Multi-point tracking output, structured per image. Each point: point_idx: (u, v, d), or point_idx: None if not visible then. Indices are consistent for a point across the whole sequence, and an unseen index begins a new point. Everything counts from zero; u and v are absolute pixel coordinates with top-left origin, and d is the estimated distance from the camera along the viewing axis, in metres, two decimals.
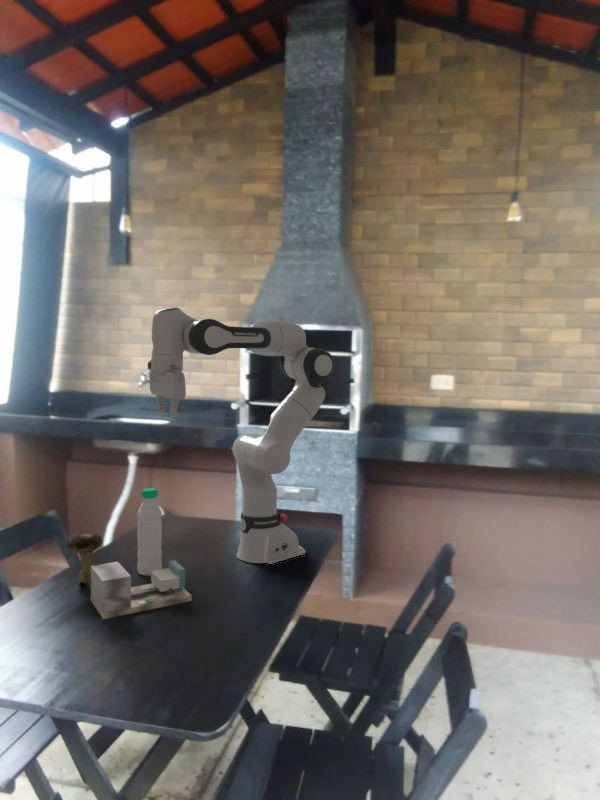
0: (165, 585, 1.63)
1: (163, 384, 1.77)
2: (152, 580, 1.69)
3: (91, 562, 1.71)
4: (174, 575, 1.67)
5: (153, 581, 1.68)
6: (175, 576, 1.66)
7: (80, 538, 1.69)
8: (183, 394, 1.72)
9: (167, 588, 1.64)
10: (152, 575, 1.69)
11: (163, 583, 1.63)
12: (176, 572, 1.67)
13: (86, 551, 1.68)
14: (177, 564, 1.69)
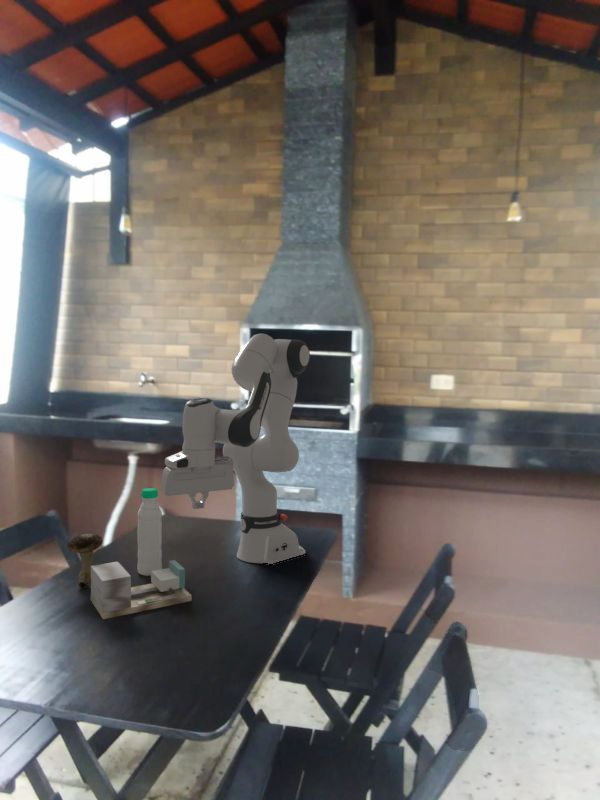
0: (165, 585, 1.63)
1: (206, 479, 1.70)
2: (152, 580, 1.69)
3: (91, 562, 1.71)
4: (174, 575, 1.67)
5: (153, 581, 1.68)
6: (175, 576, 1.66)
7: (80, 538, 1.69)
8: None
9: (167, 588, 1.64)
10: (152, 575, 1.69)
11: (163, 583, 1.63)
12: (176, 572, 1.67)
13: (86, 551, 1.68)
14: (177, 564, 1.69)
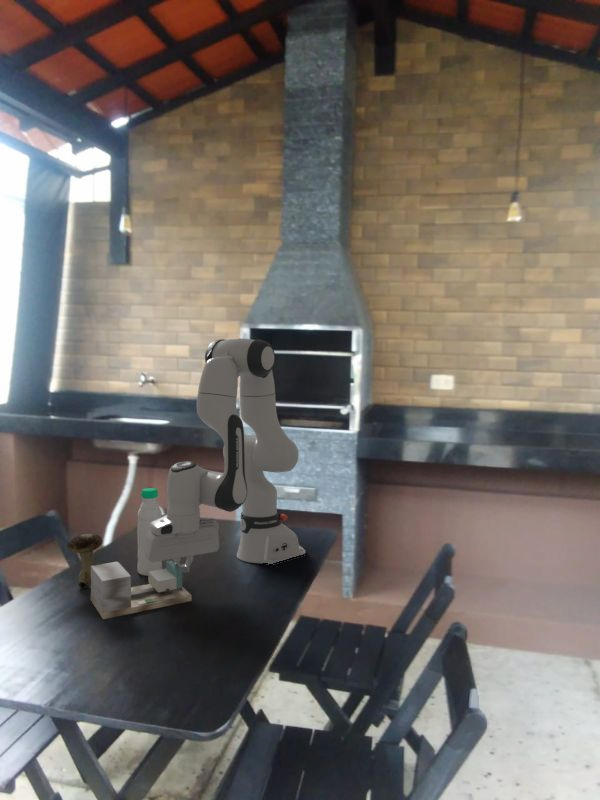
0: (162, 586, 1.63)
1: (191, 543, 1.69)
2: (149, 581, 1.68)
3: (91, 562, 1.71)
4: (171, 576, 1.66)
5: (150, 582, 1.68)
6: (172, 576, 1.66)
7: (80, 538, 1.69)
8: None
9: (164, 589, 1.63)
10: (149, 576, 1.68)
11: (160, 584, 1.63)
12: (173, 572, 1.67)
13: (86, 551, 1.68)
14: (174, 564, 1.69)
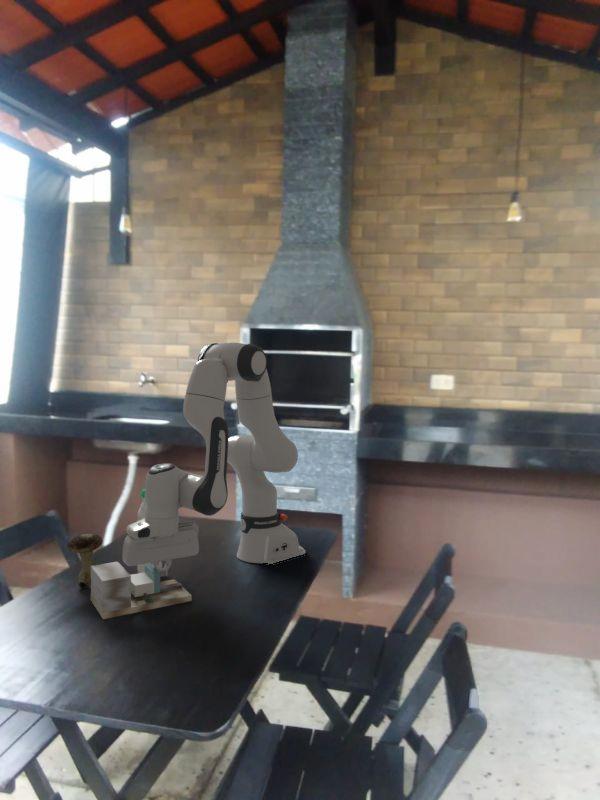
0: (139, 590, 1.60)
1: (170, 546, 1.66)
2: None
3: (91, 562, 1.71)
4: (149, 580, 1.63)
5: None
6: (150, 581, 1.62)
7: (80, 538, 1.69)
8: None
9: (141, 593, 1.60)
10: None
11: (137, 588, 1.60)
12: (151, 577, 1.63)
13: (86, 551, 1.68)
14: (152, 568, 1.66)
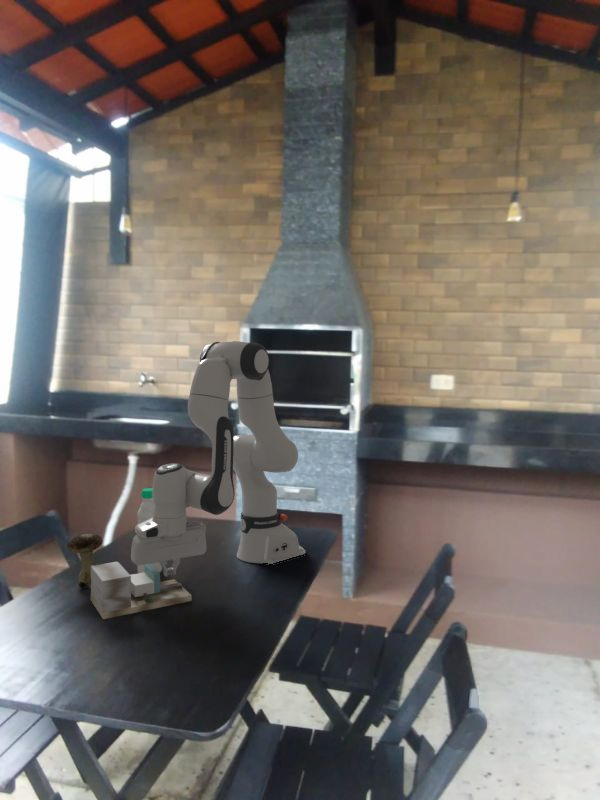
0: (139, 590, 1.60)
1: (178, 546, 1.67)
2: None
3: (91, 562, 1.71)
4: (149, 580, 1.63)
5: None
6: (150, 581, 1.62)
7: (80, 538, 1.69)
8: None
9: (141, 593, 1.60)
10: None
11: (137, 588, 1.60)
12: (151, 577, 1.63)
13: (86, 551, 1.68)
14: (152, 568, 1.66)
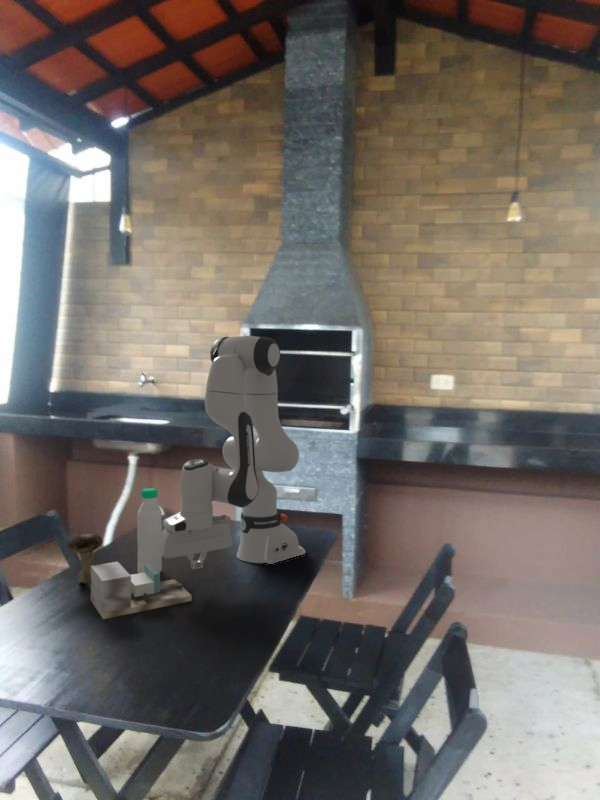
0: (139, 590, 1.60)
1: (205, 539, 1.71)
2: None
3: (91, 562, 1.71)
4: (149, 580, 1.63)
5: None
6: (150, 581, 1.62)
7: (80, 538, 1.69)
8: None
9: (141, 593, 1.60)
10: None
11: (137, 588, 1.60)
12: (151, 577, 1.63)
13: (86, 551, 1.68)
14: (152, 568, 1.66)
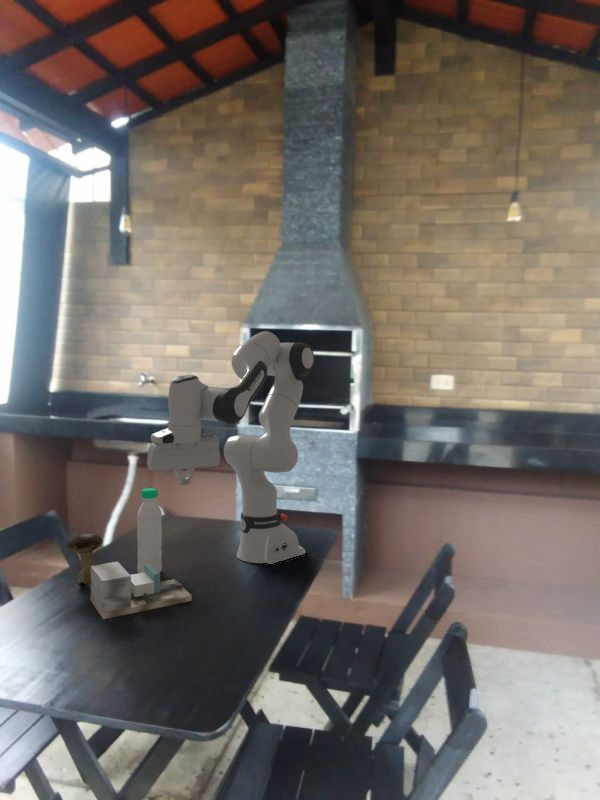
0: (139, 590, 1.60)
1: (192, 455, 1.71)
2: None
3: (91, 562, 1.71)
4: (149, 580, 1.63)
5: None
6: (150, 581, 1.62)
7: (80, 538, 1.69)
8: None
9: (141, 593, 1.60)
10: None
11: (137, 588, 1.60)
12: (151, 577, 1.63)
13: (86, 551, 1.68)
14: (152, 568, 1.66)
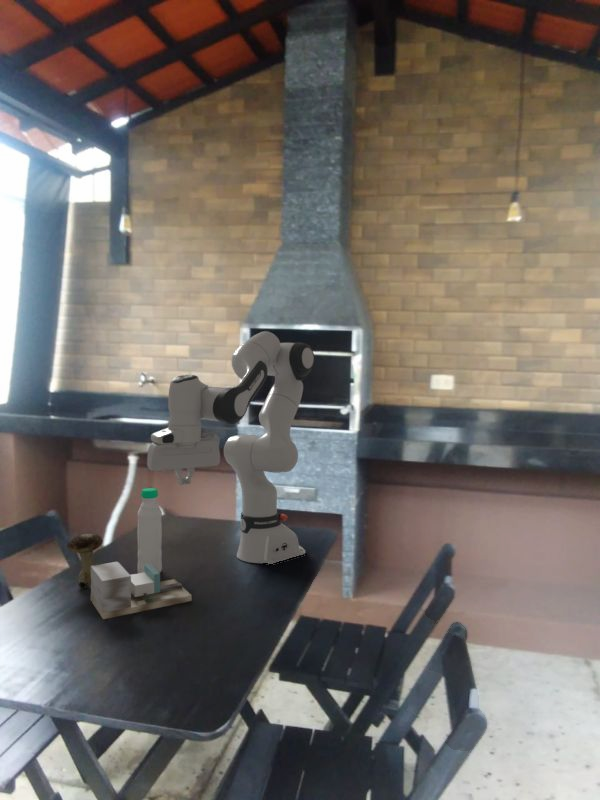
0: (139, 590, 1.60)
1: (192, 455, 1.71)
2: None
3: (91, 562, 1.71)
4: (149, 580, 1.63)
5: None
6: (150, 581, 1.62)
7: (80, 538, 1.69)
8: None
9: (141, 593, 1.60)
10: None
11: (137, 588, 1.60)
12: (151, 577, 1.63)
13: (86, 551, 1.68)
14: (152, 568, 1.66)
